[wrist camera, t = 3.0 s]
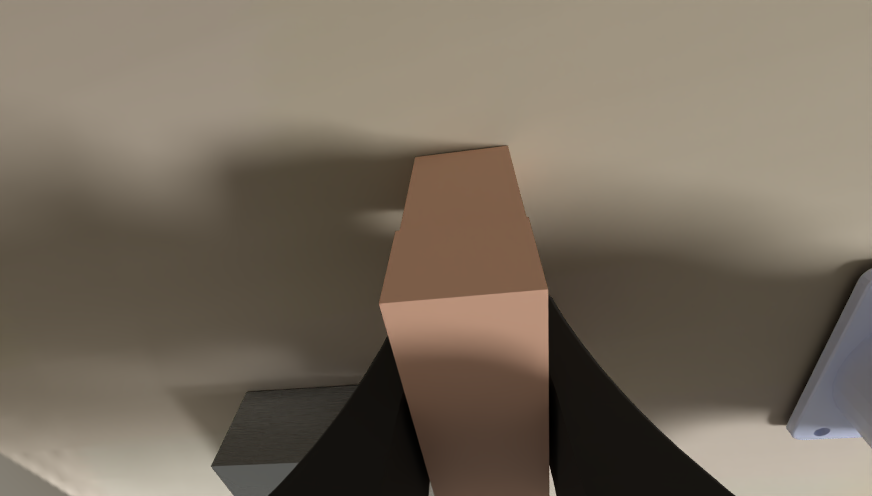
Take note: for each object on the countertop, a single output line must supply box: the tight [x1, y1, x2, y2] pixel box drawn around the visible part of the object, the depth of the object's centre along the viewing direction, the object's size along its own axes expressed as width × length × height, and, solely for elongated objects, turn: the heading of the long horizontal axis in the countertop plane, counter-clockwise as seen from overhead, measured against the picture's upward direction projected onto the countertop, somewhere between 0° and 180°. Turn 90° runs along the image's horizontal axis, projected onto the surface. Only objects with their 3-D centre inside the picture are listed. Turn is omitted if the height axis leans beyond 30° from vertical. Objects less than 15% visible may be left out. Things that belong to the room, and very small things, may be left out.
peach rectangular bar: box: [379, 146, 549, 496], centre depth 11 cm, size 2×8×6 cm, turn 9°
